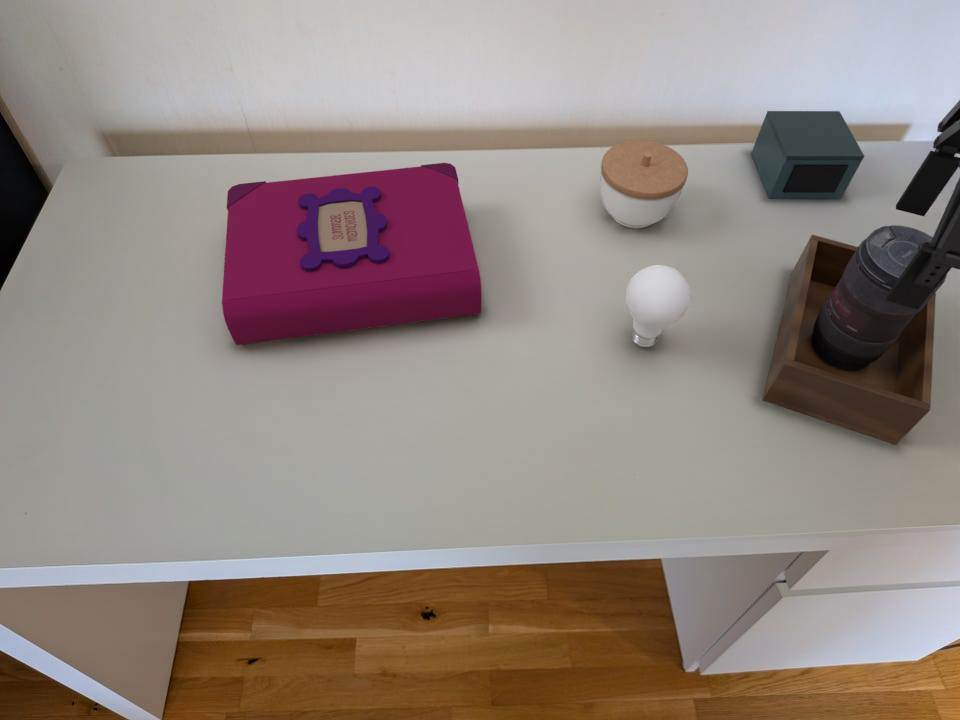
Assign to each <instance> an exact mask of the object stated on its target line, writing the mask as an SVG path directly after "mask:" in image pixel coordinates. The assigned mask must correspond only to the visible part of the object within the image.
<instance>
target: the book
mask: <svg viewBox="0 0 960 720" xmlns="http://www.w3.org/2000/svg"><path fill="white" fill-rule="evenodd" d="M462 198H463V197H462V193H461V191H460V187H459V177H458V173H457V168H456V166H454V165H453V164H451V163H448V162H438V163H437V162H436V163H430V164H421V165H420V166H411V167H404V168H403V167H402V168H391V169H384V170H373V171H364V172H356V173H355V172H353V173H346V174H333V175H325V176H317V177H307V178H306V177H305V178H297V179H287V180H277V181H269V182H267V181H255V182H246V183H245V182H244V183H238V184H235V185H232V186H231V187H230V188H229V189H228V190H227V195H226V210H227V218H226V219H227V220H226V232H225V247H224V248H225V250H224V264H223V265H224V266H223V277H222V278H223V281H222V295H221V307H222V313H223V318H224V322H225V324H226V327H227V330H228V331H229V334H230V336H231V339H232V340H233V342H234V344H235V345H236V346H243V345H251V344H258V343H265V342H273V341H274V342H275V341H281V340H289V339H295V338H296V339H297V338H303V337H311V336H318V335H319V336H320V335H327V334H334V333H335V334H336V333H341V332H351V331H356V330H357V331H358V330H364V329H366V330H367V329H372V328H380V327H387V326H395V325H403V324H412V323H418V322H419V323H420V322H426V321H433V320H442V319H450V318H457V317H467V316H471V315H473V316H474V315H480V314H482V282H481V281H482V280H481V273H480V268H479V264H478V261H477V256H476V252H475V248H474V243H473V240H472V236H471V231H470V228H469V222H468V219H467V214H466V211H465V206H464V203H463V199H462Z"/></svg>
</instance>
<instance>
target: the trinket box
mask: <svg viewBox="0 0 960 720" xmlns="http://www.w3.org/2000/svg"><path fill="white" fill-rule="evenodd" d="M688 176H689V167H688V165H687V162H686V161H685V159H684V158H683V156H682V155H681V154H680V153H678V151H676V150H674V149H673V148H671V147H670V146H667V145H665V144H663V143H659V142H656V141H652V140H644V139H634V140H633V139H632V140H627V141H623V142H620V143H617V144H615V145H613V146H612V147H610V148H609V149H608V150H606V152H605V153H604V154H603V157H602V158H601V164H600V176H599V194H600V200H601V202H602V205H603V207H604V209H605V210H606V211H607V213H608V214H609V216H611V217H612V219H613V220H614V221H615V222H616V223H617V224H619V225H621V226H622V227H626V228H628V229H629V228H630V229H644V228H645V229H646V228H648V227H650V226H651V225H654V224H656V223H658V222H660V221H661V220H663V219H664V218H666V217H667V216H668V215H669V214H670V213H671V212H672V211H673V209H674V208H675V207H676V204H677V203H678V200H679V199H680V197H681V194H682V192H683V189H684V186H685V184H686V182H687V179H688Z"/></svg>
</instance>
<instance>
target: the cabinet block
mask: <svg viewBox="0 0 960 720" xmlns="http://www.w3.org/2000/svg"><path fill="white" fill-rule="evenodd" d="M759 129H760V130H759V132H758V134H757V137H756V139H755V142H754V145H753V147H752V149H751V153H750V155H751V158H752V160H753V162H754V165H755V168H756V170H757V172H758V173H757V174H758V175H759V177H760V180H761V182H762V185H763V188H764V190H765V192H766V195H767V198H768V199H769V200H770V199H772V200H773V199H774V200H775V199H777V200H779V199H781V200H782V199H784V200H785V199H791V200H792V199H796V200H797V199H809V200H810V199H812V200H813V199H814V200H815V199H816V200H818V199H821V200H822V199H824V200H827V199H831V200H832V199H834V200H836V199H837V200H838V199H839V200H840V199H842V198H843V196H844V194H845V192H846V191H847V189H848V187H849V185H850V184H851V182H852V180H853V178H854V176H855V175H856V172H857V170H858V169H859V167H860V165H861V163H862V161H863V160H864V158H865V155H864V153H863V151H862V149H861V147H860V146H859V143H858V141H857V139H856V138H855V136H854V135H853V132H852V131H851V130H850V128H849V125H848V124H847V122H846V120H845V119H844V117H843V115H842V113H841V111H840V110H767V111H766V114H765V116H764V119H763V121H762V124H761V127H760V128H759Z"/></svg>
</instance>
